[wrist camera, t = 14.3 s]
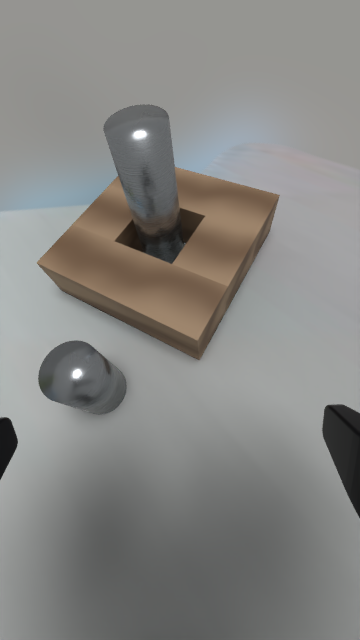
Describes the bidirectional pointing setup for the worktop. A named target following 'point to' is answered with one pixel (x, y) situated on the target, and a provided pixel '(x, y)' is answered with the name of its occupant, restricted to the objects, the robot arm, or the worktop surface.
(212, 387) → the worktop surface
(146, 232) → the long pin
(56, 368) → the short pin
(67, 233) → the plate
